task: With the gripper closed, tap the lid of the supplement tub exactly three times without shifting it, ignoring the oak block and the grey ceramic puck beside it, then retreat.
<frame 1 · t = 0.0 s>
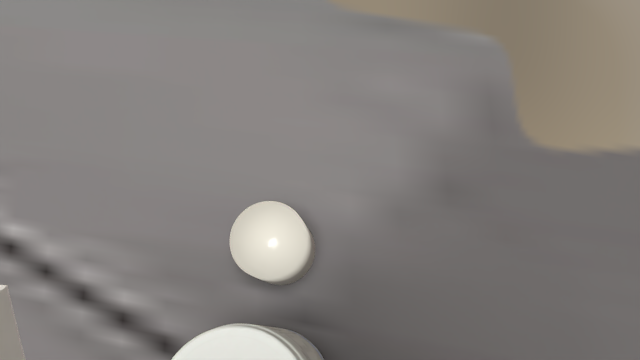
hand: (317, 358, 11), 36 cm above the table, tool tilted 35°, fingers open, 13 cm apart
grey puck: (281, 250, 48), on the table
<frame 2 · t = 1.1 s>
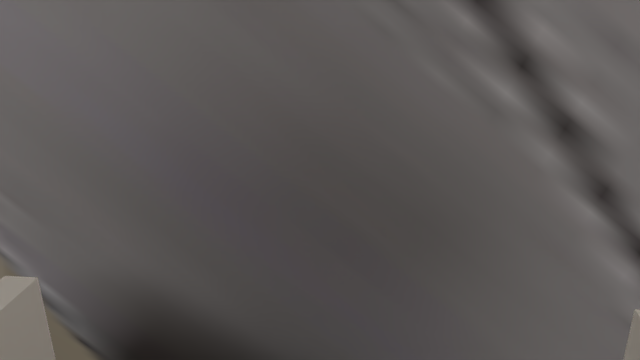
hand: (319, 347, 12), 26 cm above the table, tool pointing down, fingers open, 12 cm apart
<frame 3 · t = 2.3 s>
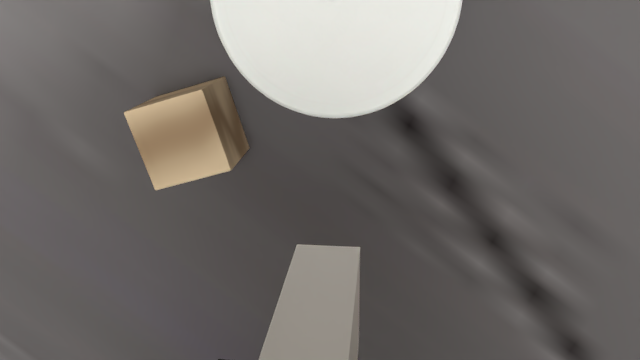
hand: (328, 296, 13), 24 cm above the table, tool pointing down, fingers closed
oak block: (203, 122, 37), on the table
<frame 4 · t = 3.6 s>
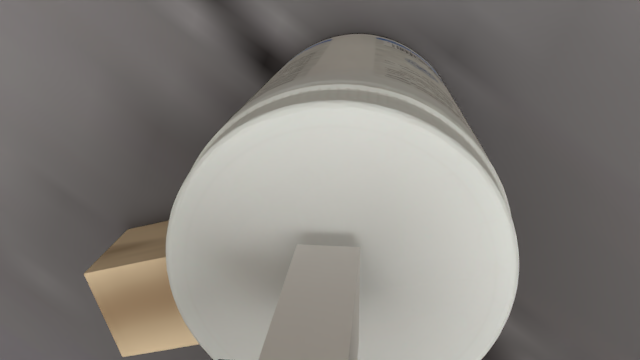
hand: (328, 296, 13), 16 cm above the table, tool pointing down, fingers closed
oak block: (183, 258, 32), on the table
supplement tub: (359, 126, 28), on the table
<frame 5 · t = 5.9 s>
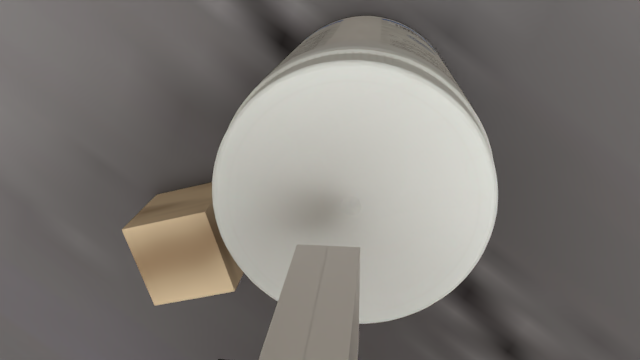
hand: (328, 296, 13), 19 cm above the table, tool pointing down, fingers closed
oak block: (206, 221, 35), on the table
supplement tub: (366, 100, 32), on the table
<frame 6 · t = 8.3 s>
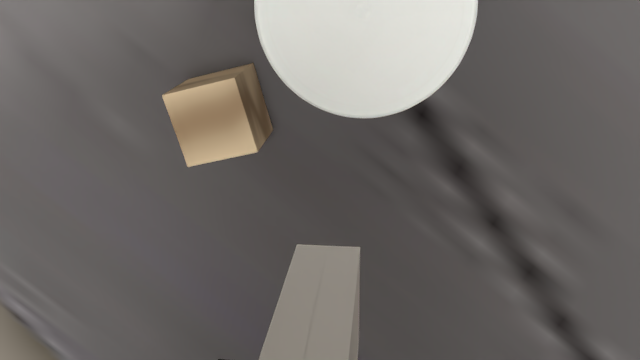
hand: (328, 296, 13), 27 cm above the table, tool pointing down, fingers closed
oak block: (231, 104, 41), on the table
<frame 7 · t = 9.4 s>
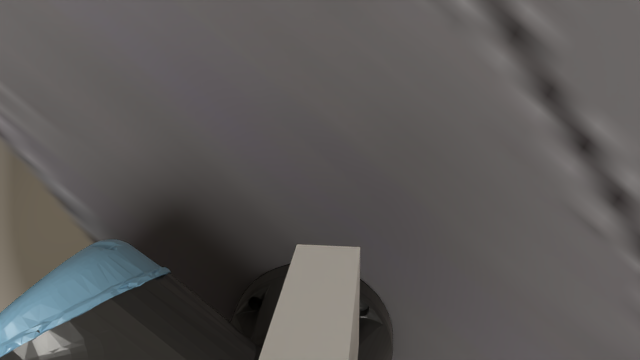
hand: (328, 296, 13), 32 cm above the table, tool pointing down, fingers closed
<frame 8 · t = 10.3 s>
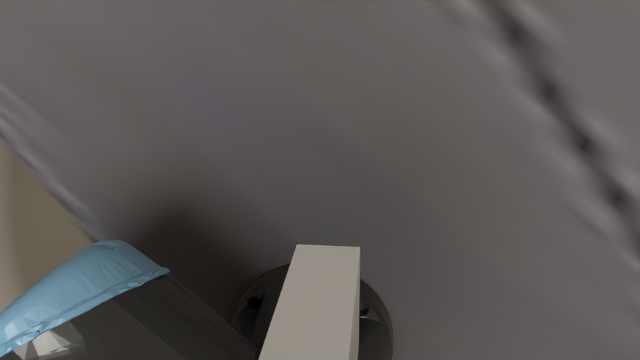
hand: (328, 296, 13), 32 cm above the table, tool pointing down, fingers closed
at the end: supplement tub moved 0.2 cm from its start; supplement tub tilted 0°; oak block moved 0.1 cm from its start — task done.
